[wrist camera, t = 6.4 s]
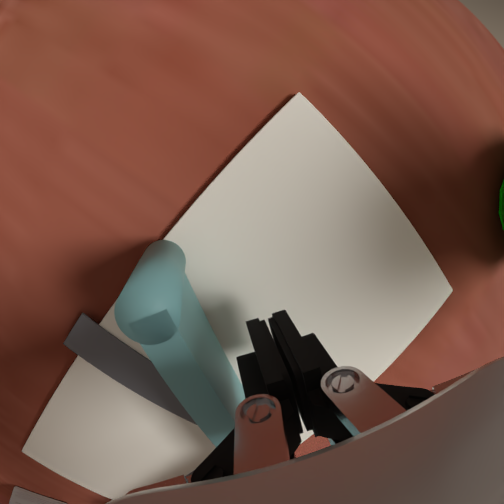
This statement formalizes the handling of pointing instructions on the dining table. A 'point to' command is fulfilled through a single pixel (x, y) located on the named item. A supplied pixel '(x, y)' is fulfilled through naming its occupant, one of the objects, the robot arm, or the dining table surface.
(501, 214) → the plastic bottle
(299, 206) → the card
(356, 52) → the dining table surface
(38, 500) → the supplement box
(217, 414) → the teal bar
